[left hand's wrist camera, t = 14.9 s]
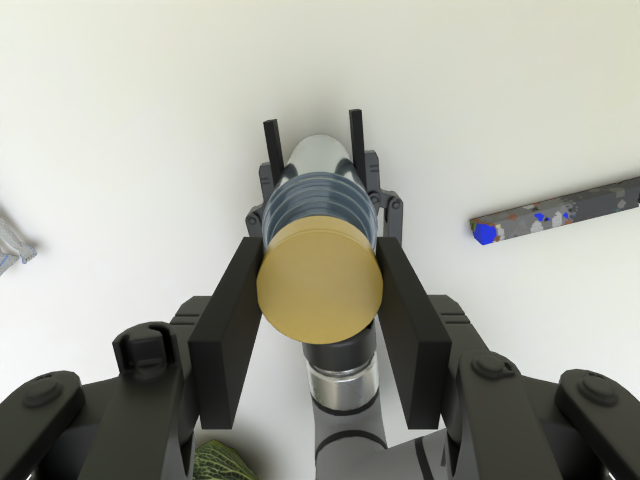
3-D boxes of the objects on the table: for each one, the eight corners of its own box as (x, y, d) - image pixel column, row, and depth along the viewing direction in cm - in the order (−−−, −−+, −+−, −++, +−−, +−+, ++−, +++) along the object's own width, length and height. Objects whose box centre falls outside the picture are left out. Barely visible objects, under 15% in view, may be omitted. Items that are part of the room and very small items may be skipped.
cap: (396, 283, 15) (406, 308, 13) (303, 333, 16) (301, 363, 14) (338, 192, 13) (341, 207, 12) (240, 252, 14) (229, 274, 13)
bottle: (360, 174, 37) (431, 308, 14) (311, 204, 38) (297, 376, 15) (329, 122, 35) (348, 172, 12) (278, 155, 36) (202, 263, 13)
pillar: (683, 195, 35) (479, 246, 37) (663, 190, 37) (471, 238, 39) (685, 174, 35) (476, 227, 37) (665, 170, 37) (468, 220, 39)
